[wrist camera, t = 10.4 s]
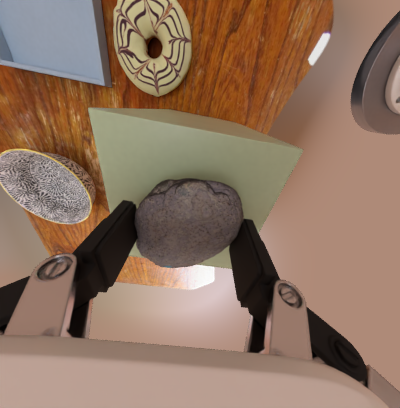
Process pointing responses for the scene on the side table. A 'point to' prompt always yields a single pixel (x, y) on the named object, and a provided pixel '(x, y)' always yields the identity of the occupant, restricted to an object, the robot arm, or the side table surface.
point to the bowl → (47, 185)
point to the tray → (55, 38)
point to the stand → (189, 159)
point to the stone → (187, 221)
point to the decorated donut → (139, 38)
